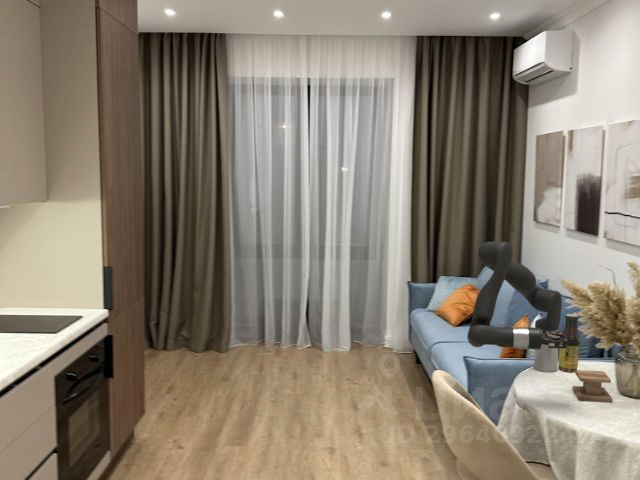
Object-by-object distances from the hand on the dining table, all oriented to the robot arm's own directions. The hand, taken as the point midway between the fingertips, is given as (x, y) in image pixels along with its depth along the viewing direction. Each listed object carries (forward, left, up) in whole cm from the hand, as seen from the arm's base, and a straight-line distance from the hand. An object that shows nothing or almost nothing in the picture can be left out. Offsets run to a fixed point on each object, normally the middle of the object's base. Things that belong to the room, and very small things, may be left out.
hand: (576, 340), depth 207 cm
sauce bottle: (0, -2, -11) cm, 11 cm away
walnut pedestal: (-11, +8, -24) cm, 27 cm away
